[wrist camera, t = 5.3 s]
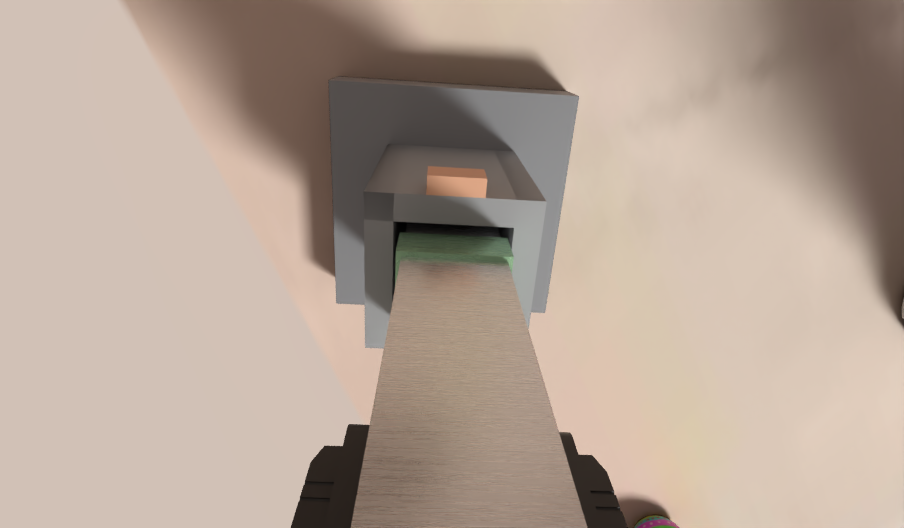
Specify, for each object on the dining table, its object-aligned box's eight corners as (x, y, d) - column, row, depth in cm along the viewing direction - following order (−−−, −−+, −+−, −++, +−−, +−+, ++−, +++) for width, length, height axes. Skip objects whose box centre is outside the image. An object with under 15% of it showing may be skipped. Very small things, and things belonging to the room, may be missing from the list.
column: (406, 199, 25) (306, 664, 6) (496, 204, 25) (651, 669, 7) (404, 281, 26) (322, 825, 8) (488, 285, 27) (591, 826, 8)
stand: (338, 76, 31) (273, 100, 19) (566, 91, 31) (644, 123, 19) (344, 283, 36) (297, 402, 24) (537, 292, 37) (582, 413, 25)
